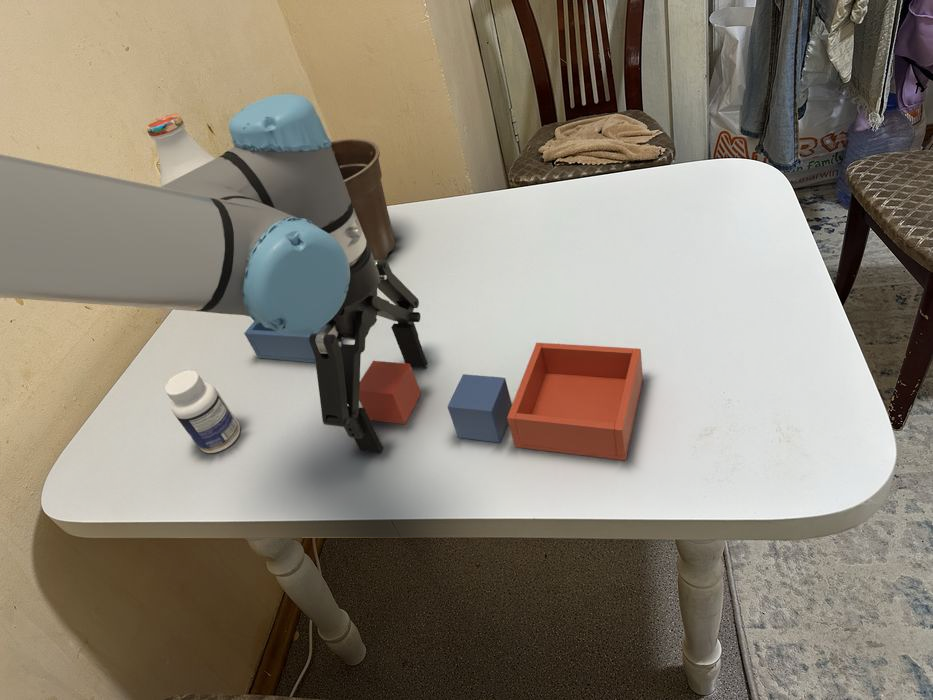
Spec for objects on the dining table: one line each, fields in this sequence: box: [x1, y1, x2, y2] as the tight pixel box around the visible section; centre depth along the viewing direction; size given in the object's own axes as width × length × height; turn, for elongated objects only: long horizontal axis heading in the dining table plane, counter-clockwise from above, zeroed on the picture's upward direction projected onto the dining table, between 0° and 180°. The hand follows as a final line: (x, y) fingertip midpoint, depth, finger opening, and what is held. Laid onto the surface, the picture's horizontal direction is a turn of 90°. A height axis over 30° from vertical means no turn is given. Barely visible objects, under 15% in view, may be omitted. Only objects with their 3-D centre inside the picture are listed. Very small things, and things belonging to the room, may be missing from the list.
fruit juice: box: [146, 113, 217, 187], centre depth 100 cm, size 9×9×28 cm
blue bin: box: [243, 320, 345, 364], centre depth 93 cm, size 12×12×5 cm
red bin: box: [507, 342, 644, 461], centre depth 70 cm, size 12×12×5 cm
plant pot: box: [331, 138, 396, 260], centre depth 103 cm, size 16×16×16 cm
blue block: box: [447, 373, 513, 444], centre depth 72 cm, size 5×5×5 cm
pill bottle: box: [164, 369, 241, 454], centre depth 78 cm, size 5×5×10 cm
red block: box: [359, 360, 422, 425], centre depth 77 cm, size 5×5×5 cm
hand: (395, 405), depth 79 cm, fingers open, 13 cm apart
